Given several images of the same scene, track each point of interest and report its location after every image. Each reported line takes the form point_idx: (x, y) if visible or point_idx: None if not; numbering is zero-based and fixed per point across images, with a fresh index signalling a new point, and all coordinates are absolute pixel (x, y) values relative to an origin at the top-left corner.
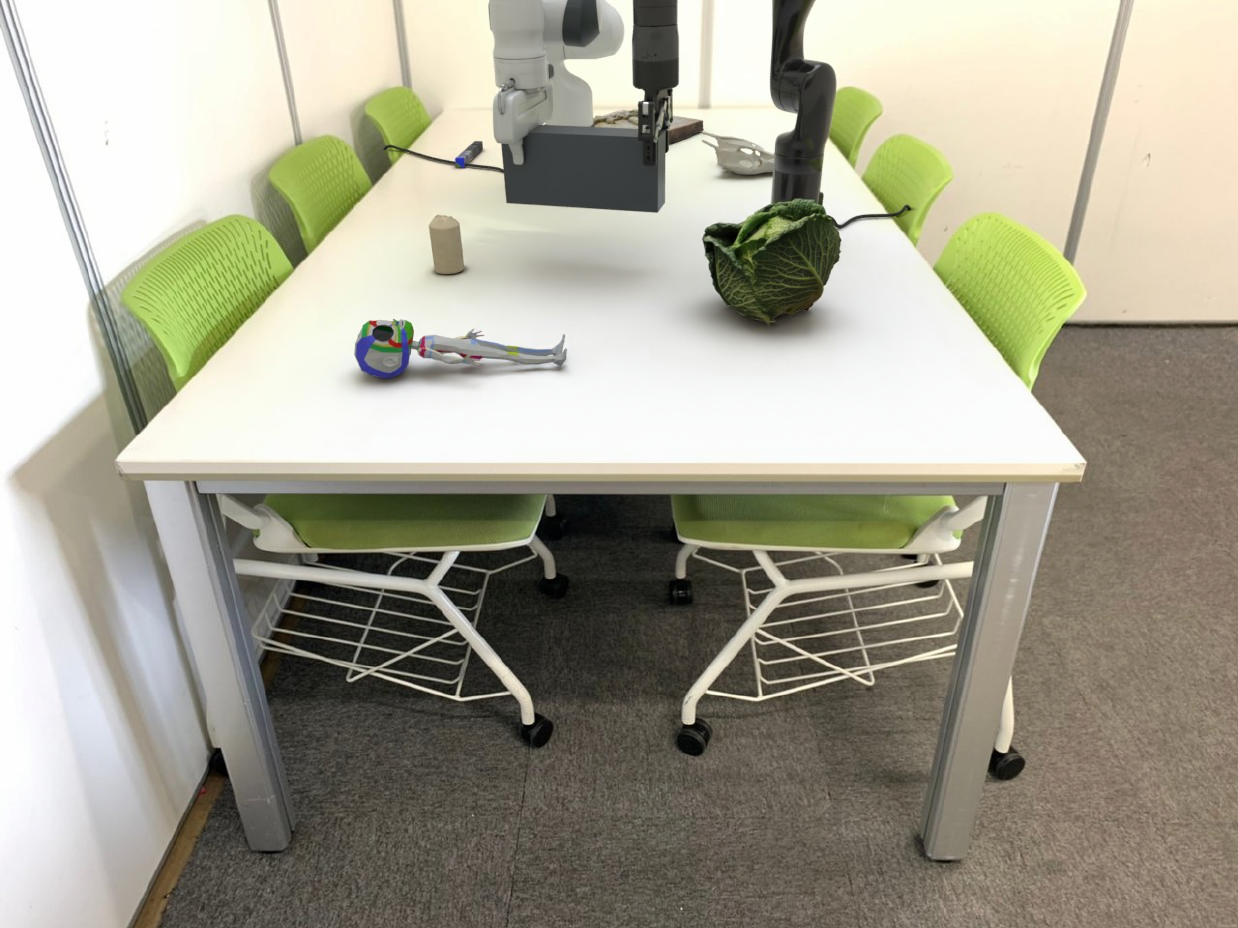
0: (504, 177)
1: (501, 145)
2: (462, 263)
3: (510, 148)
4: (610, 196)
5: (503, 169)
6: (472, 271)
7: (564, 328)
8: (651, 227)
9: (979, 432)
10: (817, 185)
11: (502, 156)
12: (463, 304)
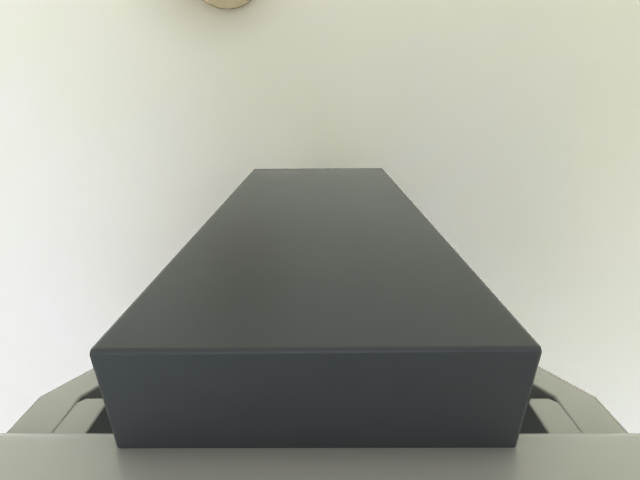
0: (231, 196)
1: (164, 269)
2: (224, 5)
3: (82, 377)
4: None
5: (222, 206)
6: (238, 38)
7: (39, 337)
8: (597, 343)
9: None
10: None
11: (195, 235)
12: (37, 112)
